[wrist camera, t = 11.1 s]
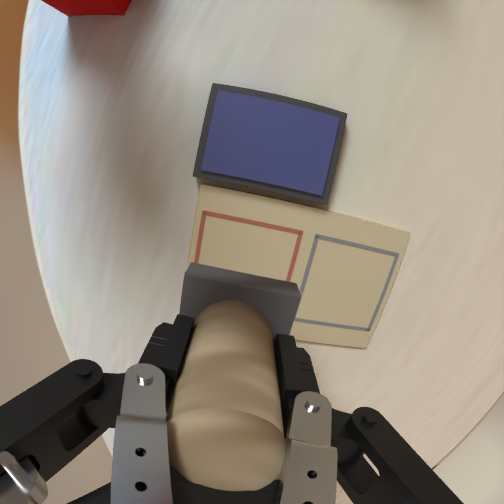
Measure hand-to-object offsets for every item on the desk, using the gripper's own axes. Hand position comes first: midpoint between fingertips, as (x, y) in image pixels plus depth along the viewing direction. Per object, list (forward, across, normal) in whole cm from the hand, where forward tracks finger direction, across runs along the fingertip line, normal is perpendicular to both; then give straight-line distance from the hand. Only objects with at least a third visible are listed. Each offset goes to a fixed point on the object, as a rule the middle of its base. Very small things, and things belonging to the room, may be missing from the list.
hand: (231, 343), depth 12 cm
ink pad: (+10, 0, -9) cm, 13 cm away
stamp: (+2, 0, 0) cm, 2 cm away
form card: (+10, -4, 0) cm, 11 cm away
